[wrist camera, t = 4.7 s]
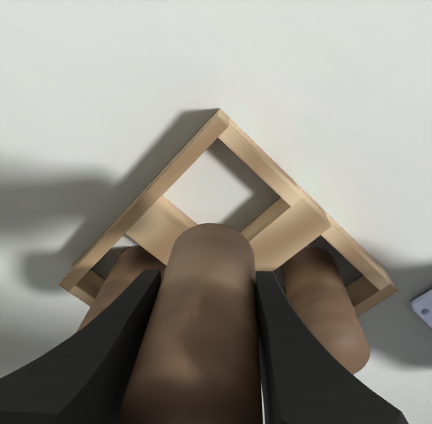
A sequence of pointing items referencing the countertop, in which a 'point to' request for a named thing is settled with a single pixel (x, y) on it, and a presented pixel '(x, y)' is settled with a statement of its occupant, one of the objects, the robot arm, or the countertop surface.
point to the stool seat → (260, 242)
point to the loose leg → (200, 337)
